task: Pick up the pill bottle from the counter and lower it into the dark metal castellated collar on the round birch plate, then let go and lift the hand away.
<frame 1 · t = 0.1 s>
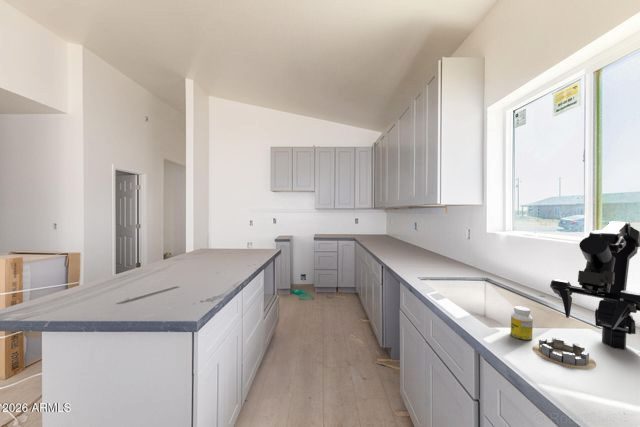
hand: (588, 322, 79), 15 cm above the worktop, tool tilted 35°, fingers open, 9 cm apart
flange plate: (562, 358, 89), on the worktop
pill bottle: (520, 340, 102), on the worktop
castellated collar: (562, 355, 89), resting on flange plate
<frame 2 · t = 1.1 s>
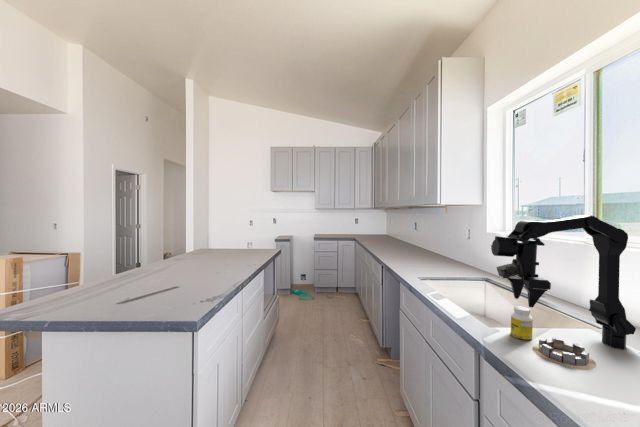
hand: (523, 302, 101), 13 cm above the worktop, tool pointing down, fingers open, 9 cm apart
nothing on the worktop moved.
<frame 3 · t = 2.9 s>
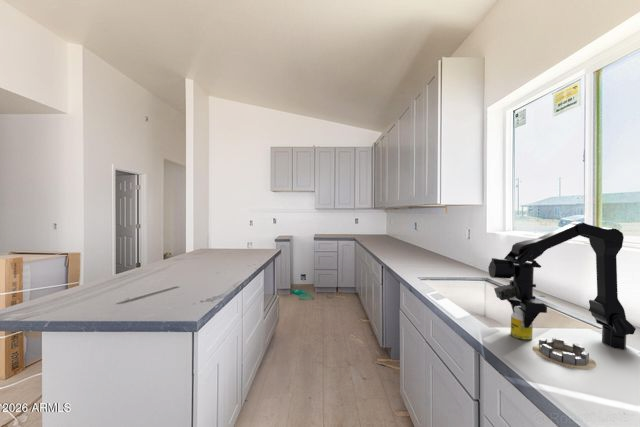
hand: (521, 323, 102), 6 cm above the worktop, tool pointing down, fingers closed on pill bottle, 6 cm apart
pill bottle: (521, 340, 102), on the worktop, touching gripper
when the fingers open (8 cm above the worktop, at t = 7.6 s): pill bottle drops 1 cm, resting on flange plate.
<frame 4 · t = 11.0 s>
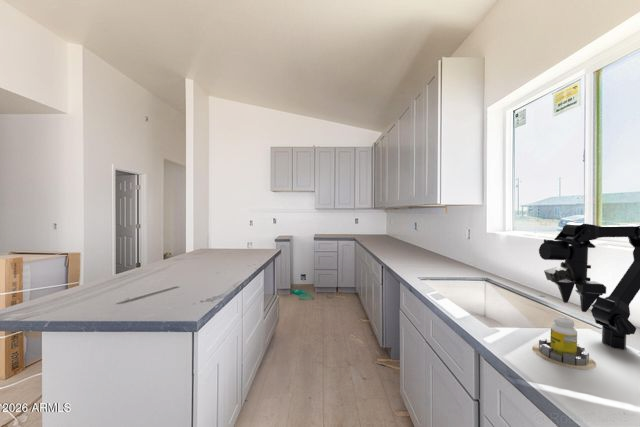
hand: (574, 307, 98), 13 cm above the worktop, tool pointing down, fingers open, 9 cm apart
pill bottle: (562, 356, 89), point 1 cm above the worktop, touching flange plate
at the end: pill bottle 0.1 cm off-centre on the castellated collar, point 0.0 cm above the castellated collar's base; pill bottle tilted 0°; the gripper is holding nothing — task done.
